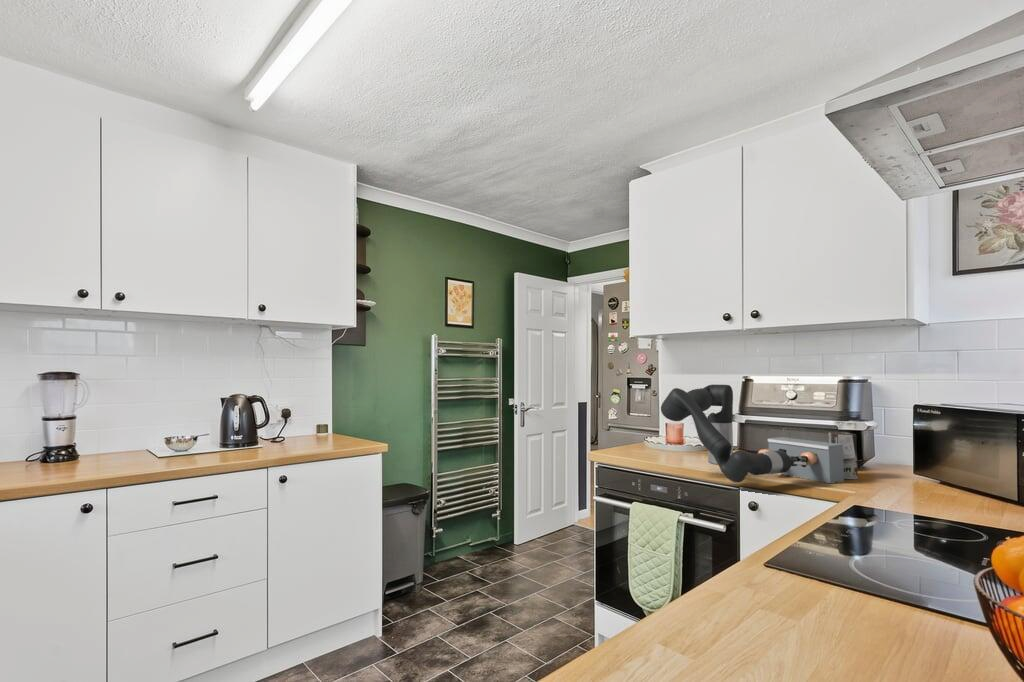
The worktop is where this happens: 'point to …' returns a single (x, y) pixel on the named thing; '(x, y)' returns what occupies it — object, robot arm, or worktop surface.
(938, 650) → the worktop surface
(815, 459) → the knob
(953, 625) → the worktop surface
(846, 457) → the coffee box
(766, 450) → the knob
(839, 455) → the control box
